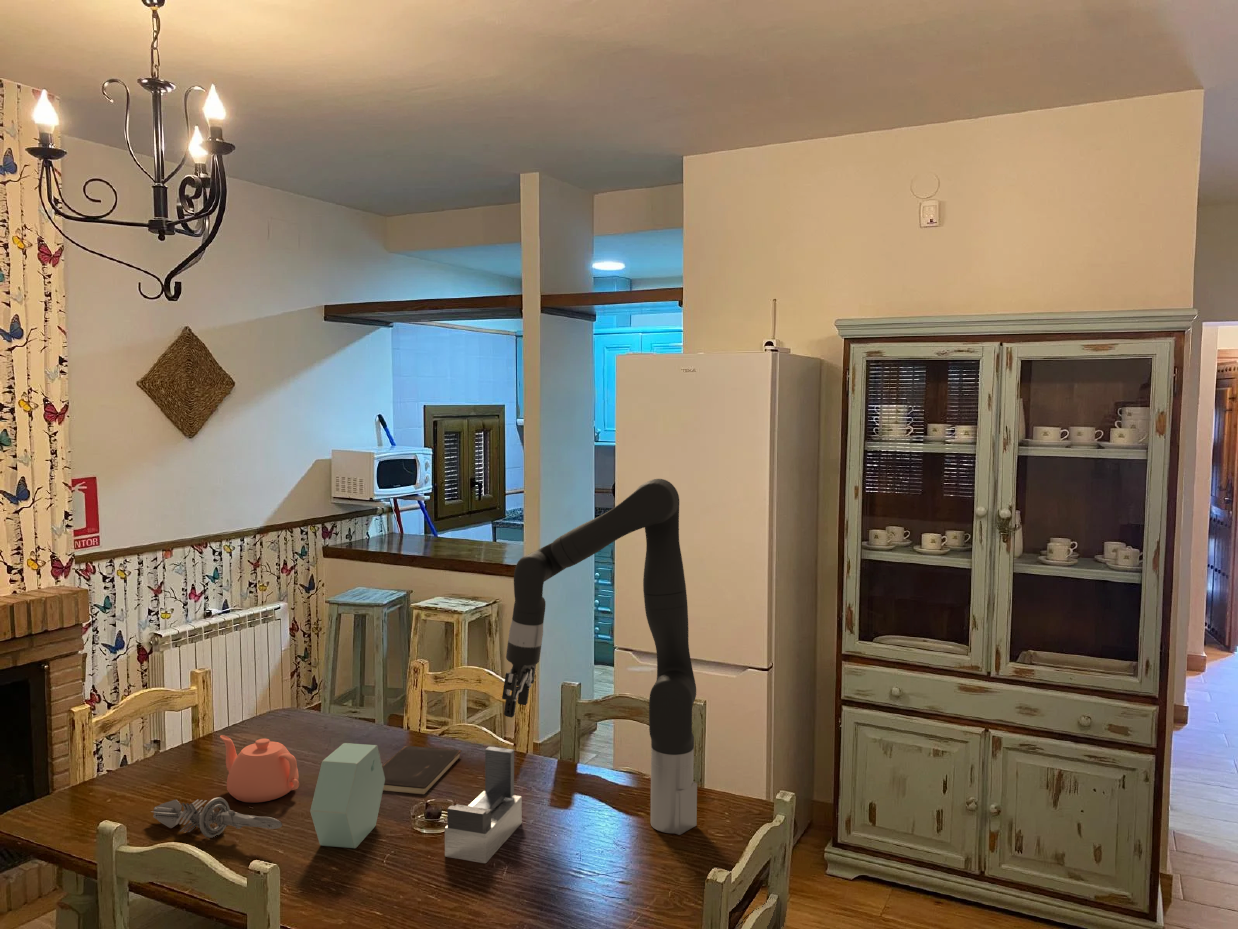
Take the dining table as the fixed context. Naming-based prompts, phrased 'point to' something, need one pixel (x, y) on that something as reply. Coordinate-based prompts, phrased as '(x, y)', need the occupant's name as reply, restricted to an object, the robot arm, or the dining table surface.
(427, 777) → the hardcover book
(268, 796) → the teapot
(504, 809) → the white rectangular holder
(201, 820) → the spaceship
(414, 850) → the dining table surface
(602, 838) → the dining table surface
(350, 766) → the mint hexagonal prism
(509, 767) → the dark grey tapered block
